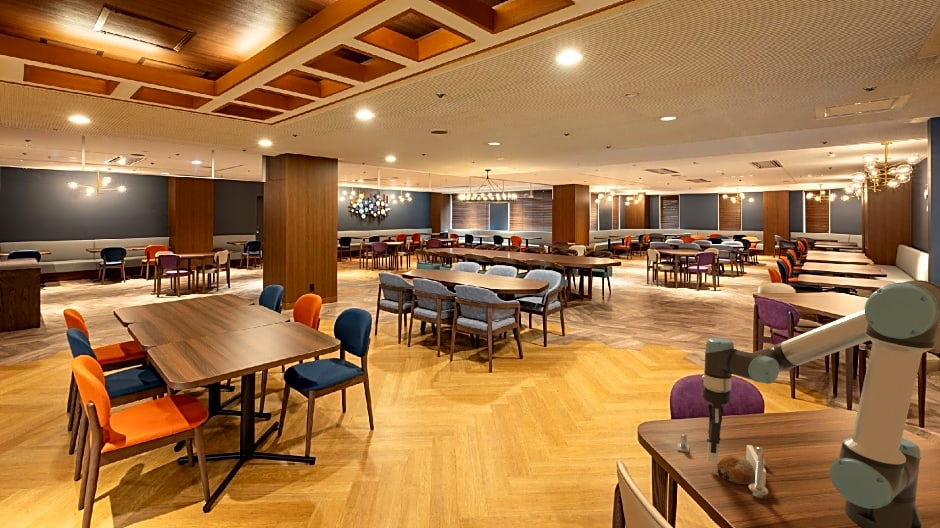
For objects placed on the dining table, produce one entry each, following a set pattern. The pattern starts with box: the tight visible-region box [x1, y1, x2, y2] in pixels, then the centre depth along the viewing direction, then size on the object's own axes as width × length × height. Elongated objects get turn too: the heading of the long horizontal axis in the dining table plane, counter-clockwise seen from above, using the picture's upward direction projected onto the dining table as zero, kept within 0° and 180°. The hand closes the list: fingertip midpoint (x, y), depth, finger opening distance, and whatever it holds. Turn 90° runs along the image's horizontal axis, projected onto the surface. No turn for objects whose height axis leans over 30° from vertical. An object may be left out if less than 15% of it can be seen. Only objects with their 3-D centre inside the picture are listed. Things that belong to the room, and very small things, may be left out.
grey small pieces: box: [677, 433, 767, 468], centre depth 156 cm, size 4×26×5 cm, turn 66°
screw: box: [747, 452, 769, 499], centre depth 133 cm, size 13×5×5 cm
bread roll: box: [716, 455, 756, 485], centre depth 143 cm, size 10×10×8 cm
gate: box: [745, 444, 767, 487], centre depth 144 cm, size 2×17×5 cm, turn 161°
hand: (712, 460), depth 147 cm, fingers closed
